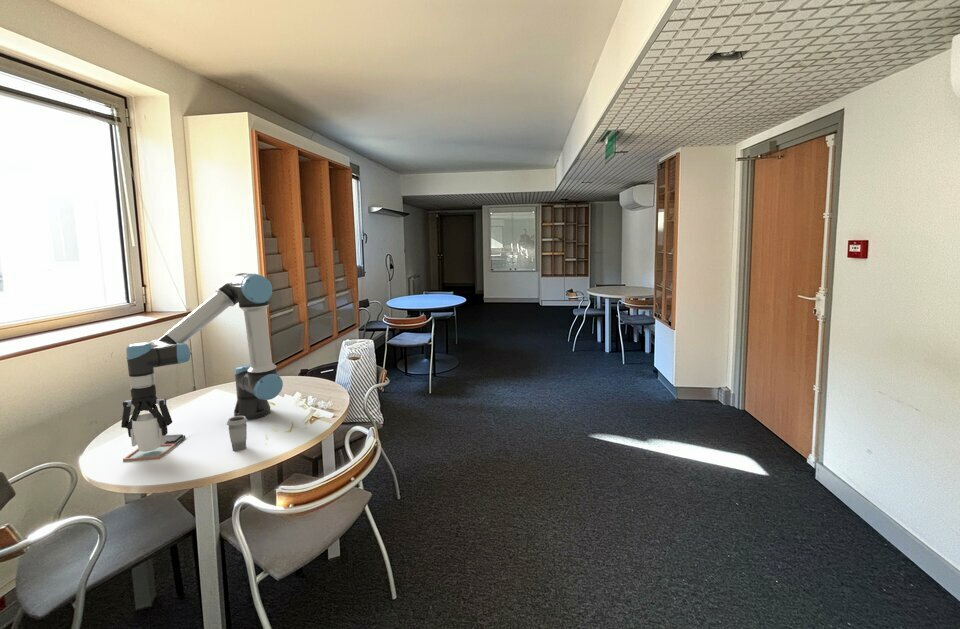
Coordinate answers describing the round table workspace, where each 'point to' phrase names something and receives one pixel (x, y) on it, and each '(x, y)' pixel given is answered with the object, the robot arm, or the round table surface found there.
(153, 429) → the cup
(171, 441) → the ink pad
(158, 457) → the print frame
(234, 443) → the cup
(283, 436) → the round table surface
